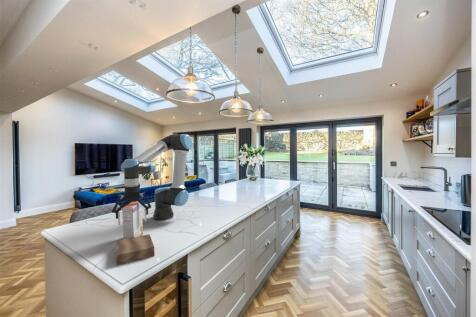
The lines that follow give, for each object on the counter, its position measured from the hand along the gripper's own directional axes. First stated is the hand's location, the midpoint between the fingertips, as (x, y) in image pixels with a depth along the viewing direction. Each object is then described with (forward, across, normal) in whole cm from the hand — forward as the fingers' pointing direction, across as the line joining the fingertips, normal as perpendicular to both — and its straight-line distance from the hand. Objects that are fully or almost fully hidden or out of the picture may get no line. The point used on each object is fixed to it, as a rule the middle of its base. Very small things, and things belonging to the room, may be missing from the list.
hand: (132, 222), depth 121 cm
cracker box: (+10, 0, 0) cm, 11 cm away
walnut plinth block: (+11, 0, -18) cm, 21 cm away
